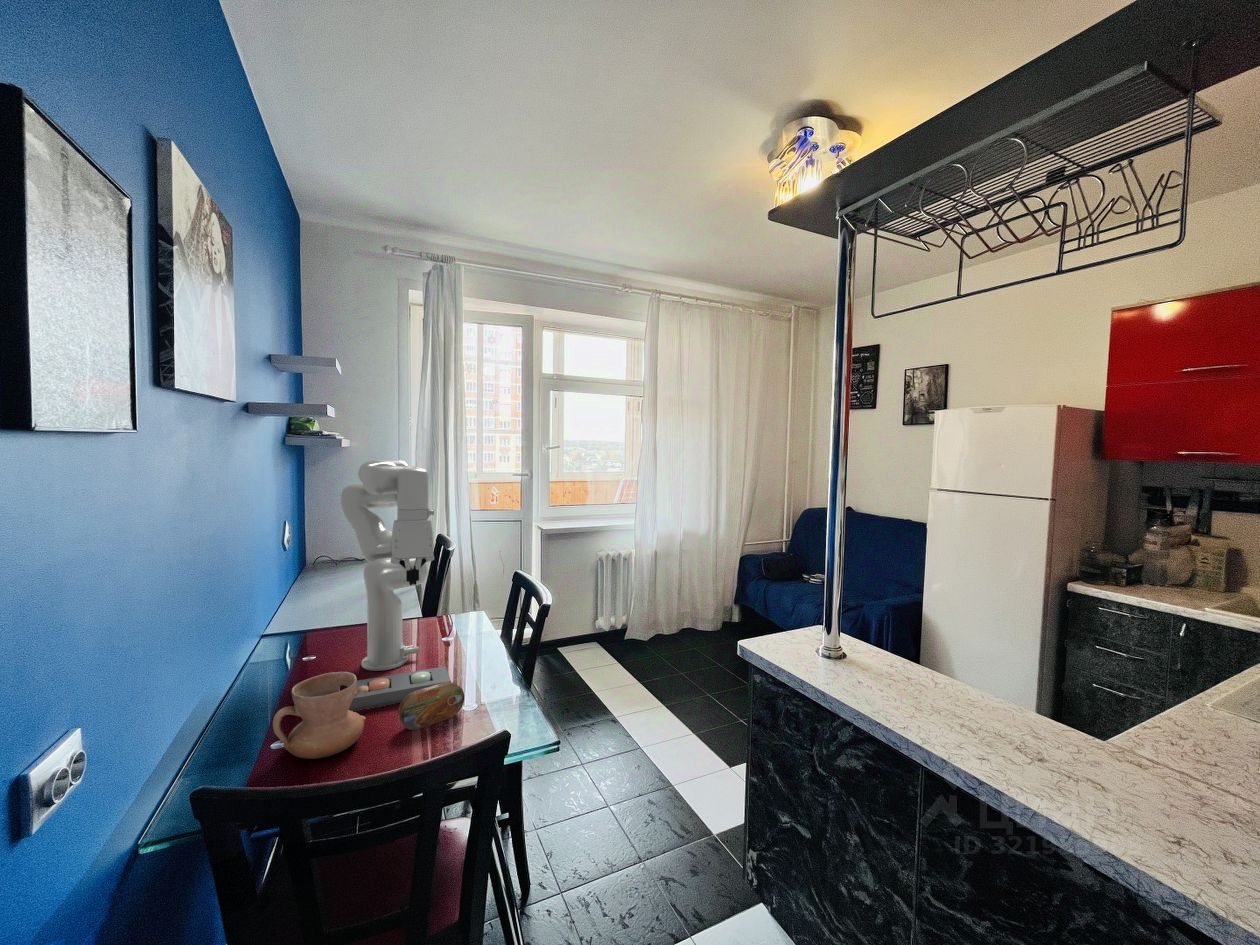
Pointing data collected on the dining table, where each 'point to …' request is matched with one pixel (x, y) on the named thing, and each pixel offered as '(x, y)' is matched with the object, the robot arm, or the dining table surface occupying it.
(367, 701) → the button panel
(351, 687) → the ceramic jug
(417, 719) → the tin
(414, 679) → the sage button
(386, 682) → the terracotta button
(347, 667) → the dining table surface
